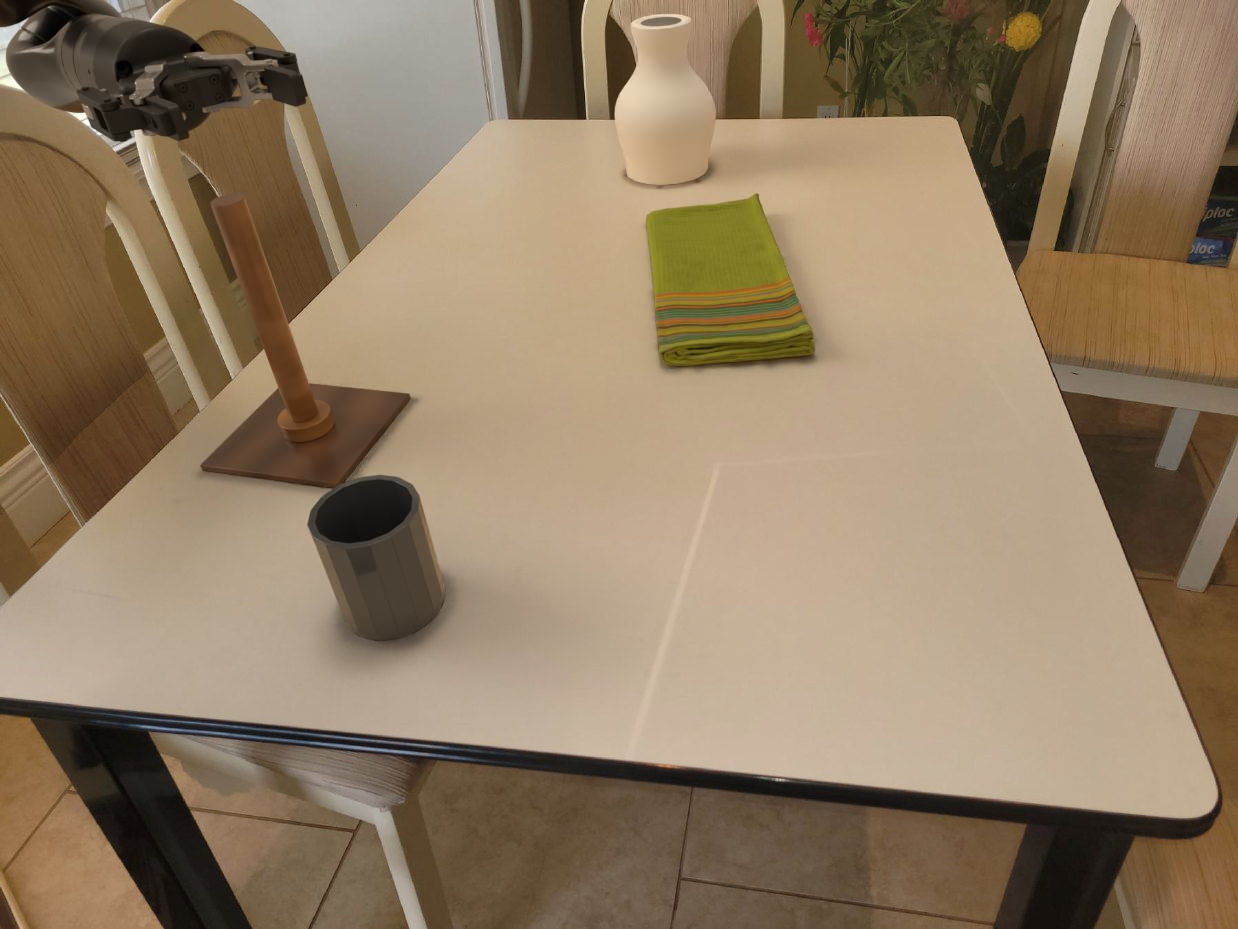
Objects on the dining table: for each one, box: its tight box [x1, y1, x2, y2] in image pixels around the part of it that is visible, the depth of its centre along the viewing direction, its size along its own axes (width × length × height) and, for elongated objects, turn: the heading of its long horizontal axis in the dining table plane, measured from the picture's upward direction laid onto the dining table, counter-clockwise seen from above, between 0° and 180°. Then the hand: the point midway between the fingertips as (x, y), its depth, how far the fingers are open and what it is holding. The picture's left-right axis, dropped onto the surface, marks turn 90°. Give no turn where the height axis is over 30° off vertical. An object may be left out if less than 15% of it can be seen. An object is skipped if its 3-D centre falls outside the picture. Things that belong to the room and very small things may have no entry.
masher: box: [210, 193, 334, 442], centre depth 76 cm, size 5×5×22 cm
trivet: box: [199, 382, 411, 489], centre depth 83 cm, size 14×14×1 cm
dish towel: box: [645, 192, 816, 367], centre depth 100 cm, size 15×36×3 cm, turn 1°
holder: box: [306, 474, 446, 641], centre depth 63 cm, size 7×7×9 cm
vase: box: [614, 13, 717, 186], centre depth 124 cm, size 14×14×20 cm
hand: (241, 106), depth 59 cm, fingers open, 8 cm apart
